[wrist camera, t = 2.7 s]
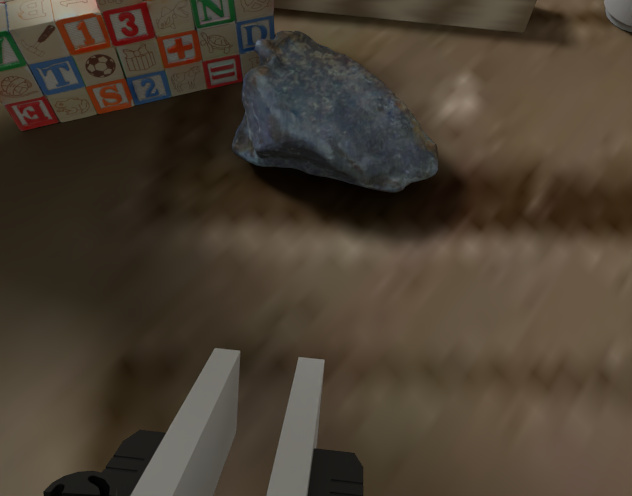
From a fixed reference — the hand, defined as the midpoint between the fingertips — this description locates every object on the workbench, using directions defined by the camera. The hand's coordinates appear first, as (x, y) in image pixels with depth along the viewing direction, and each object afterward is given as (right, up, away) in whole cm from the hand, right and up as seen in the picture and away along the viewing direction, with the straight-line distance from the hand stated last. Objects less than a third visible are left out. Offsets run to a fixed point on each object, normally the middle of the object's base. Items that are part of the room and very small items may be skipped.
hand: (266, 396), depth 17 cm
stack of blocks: (-13, +19, +32) cm, 39 cm away
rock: (+3, +12, +28) cm, 30 cm away
